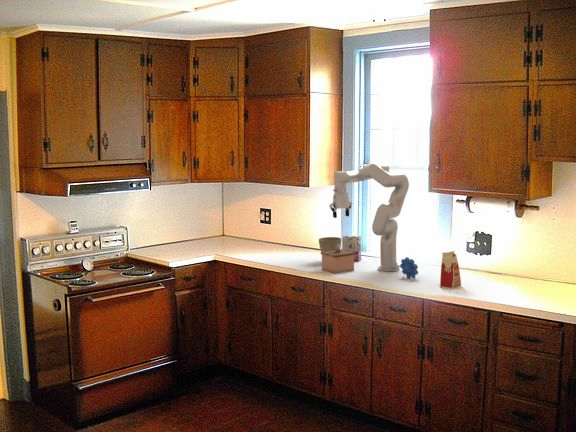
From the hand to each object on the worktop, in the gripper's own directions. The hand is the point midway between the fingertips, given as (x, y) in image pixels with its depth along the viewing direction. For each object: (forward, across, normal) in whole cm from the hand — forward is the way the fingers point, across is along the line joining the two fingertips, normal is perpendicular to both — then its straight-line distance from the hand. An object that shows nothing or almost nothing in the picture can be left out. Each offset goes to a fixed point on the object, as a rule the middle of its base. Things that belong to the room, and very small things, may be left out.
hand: (341, 216), depth 420 cm
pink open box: (+30, -16, -18) cm, 38 cm away
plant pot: (+30, -8, +2) cm, 31 cm away
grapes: (+31, +4, -60) cm, 68 cm away
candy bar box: (+30, +8, +1) cm, 31 cm away
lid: (+21, -16, -18) cm, 32 cm away
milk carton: (+31, +8, -89) cm, 95 cm away
